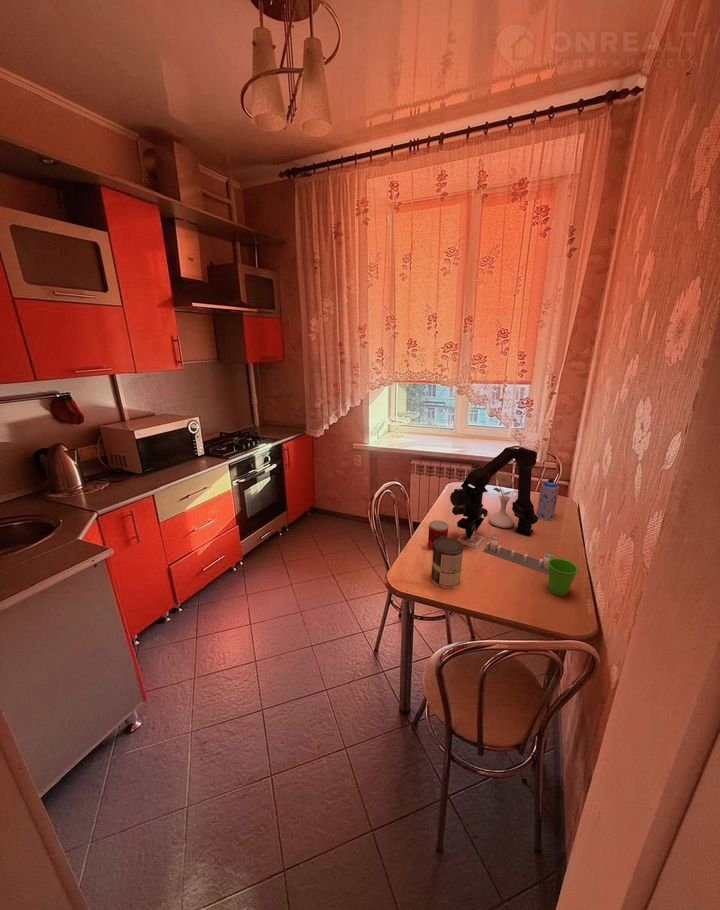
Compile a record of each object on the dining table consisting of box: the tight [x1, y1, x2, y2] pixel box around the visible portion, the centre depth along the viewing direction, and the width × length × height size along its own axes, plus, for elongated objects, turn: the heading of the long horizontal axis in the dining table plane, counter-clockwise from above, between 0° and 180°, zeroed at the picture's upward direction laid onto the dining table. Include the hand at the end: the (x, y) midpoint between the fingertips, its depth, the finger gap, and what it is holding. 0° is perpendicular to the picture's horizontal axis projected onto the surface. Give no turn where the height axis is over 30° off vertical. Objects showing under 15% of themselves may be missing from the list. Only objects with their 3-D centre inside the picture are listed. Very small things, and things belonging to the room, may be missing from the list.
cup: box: [548, 557, 579, 597], centre depth 120 cm, size 9×9×11 cm
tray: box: [456, 530, 485, 549], centre depth 152 cm, size 9×9×2 cm
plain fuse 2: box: [542, 551, 555, 571], centre depth 133 cm, size 3×3×6 cm
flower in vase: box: [488, 471, 515, 529], centre depth 166 cm, size 13×11×25 cm
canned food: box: [427, 519, 449, 551], centre depth 147 cm, size 8×8×11 cm
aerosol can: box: [535, 478, 560, 522], centre depth 174 cm, size 8×8×20 cm
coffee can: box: [430, 537, 465, 589], centre depth 126 cm, size 10×10×14 cm
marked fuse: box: [466, 531, 476, 544], centre depth 151 cm, size 3×3×6 cm
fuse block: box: [481, 541, 549, 576], centre depth 140 cm, size 8×26×3 cm, turn 51°
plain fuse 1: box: [489, 534, 500, 552], centre depth 145 cm, size 3×3×6 cm
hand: (471, 536), depth 152 cm, fingers open, 5 cm apart
